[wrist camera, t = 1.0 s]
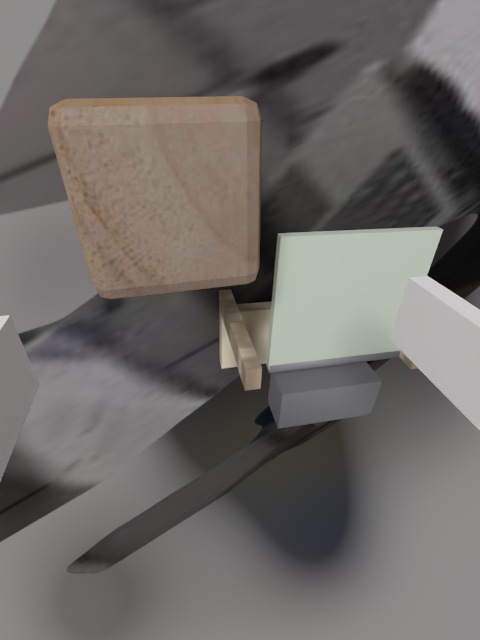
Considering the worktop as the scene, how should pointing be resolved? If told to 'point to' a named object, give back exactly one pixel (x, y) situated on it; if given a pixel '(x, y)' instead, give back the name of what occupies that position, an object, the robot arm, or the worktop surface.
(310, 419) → the trapdoor
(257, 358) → the trapdoor frame
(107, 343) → the worktop surface
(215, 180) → the wooden block
